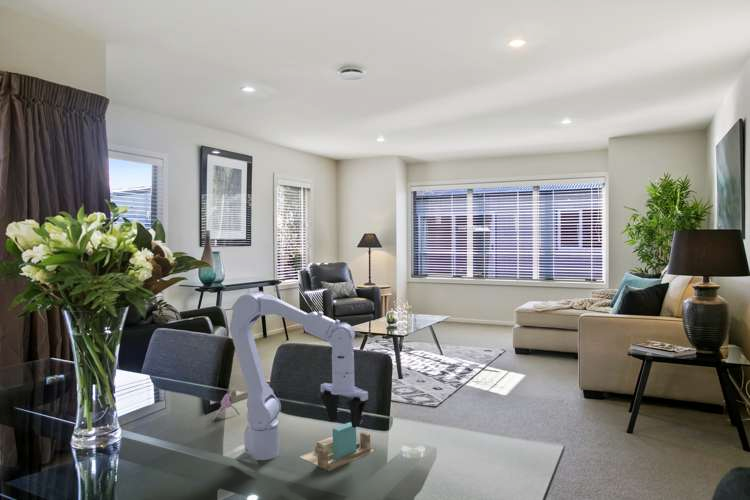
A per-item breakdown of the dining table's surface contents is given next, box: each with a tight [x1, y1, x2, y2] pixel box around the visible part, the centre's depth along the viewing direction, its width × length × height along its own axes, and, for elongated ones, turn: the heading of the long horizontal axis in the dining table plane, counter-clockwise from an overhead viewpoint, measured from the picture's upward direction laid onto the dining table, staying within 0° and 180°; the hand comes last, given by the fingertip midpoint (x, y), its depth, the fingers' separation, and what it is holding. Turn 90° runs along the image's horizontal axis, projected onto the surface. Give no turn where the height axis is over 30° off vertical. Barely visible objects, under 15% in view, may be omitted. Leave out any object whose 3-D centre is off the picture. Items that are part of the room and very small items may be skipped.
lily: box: [212, 386, 240, 422], centre depth 170 cm, size 12×12×10 cm
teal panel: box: [332, 421, 357, 460], centre depth 134 cm, size 2×6×8 cm, turn 136°
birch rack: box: [299, 431, 375, 472], centre depth 136 cm, size 12×16×5 cm
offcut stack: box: [314, 436, 333, 454], centre depth 138 cm, size 4×7×2 cm, turn 135°
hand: (344, 423), depth 134 cm, fingers open, 7 cm apart
